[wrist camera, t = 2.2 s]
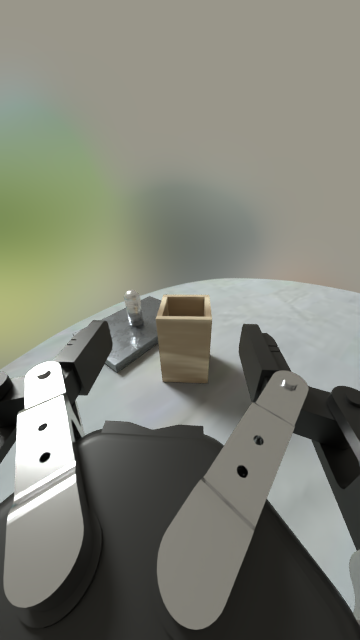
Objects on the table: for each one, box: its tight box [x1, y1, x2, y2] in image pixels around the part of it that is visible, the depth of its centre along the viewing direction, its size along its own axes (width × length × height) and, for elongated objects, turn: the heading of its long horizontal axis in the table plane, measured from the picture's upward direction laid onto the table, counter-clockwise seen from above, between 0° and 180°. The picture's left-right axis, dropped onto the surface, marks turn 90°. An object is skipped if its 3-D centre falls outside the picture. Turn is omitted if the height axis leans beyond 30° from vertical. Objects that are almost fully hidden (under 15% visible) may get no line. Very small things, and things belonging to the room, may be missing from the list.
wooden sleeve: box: [156, 295, 212, 383], centre depth 26 cm, size 6×6×10 cm
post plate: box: [73, 290, 161, 372], centre depth 35 cm, size 18×12×8 cm, turn 141°
